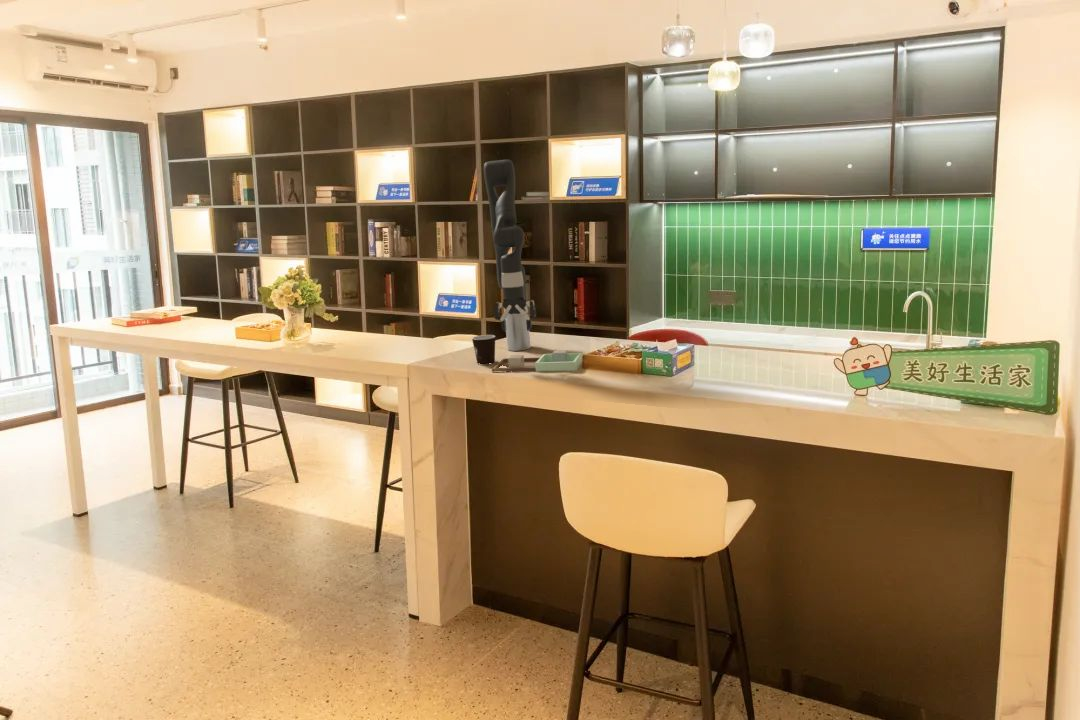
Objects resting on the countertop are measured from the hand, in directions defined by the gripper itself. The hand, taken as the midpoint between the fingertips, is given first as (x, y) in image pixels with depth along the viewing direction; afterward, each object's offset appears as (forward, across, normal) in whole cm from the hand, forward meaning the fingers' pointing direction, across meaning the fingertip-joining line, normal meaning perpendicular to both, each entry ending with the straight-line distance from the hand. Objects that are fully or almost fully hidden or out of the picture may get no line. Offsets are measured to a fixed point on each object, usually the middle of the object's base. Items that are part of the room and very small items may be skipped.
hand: (516, 330), depth 290 cm
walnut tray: (+14, +1, -4) cm, 15 cm away
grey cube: (+14, -14, -4) cm, 20 cm away
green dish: (+14, -14, -1) cm, 20 cm away
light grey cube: (+14, +1, 0) cm, 14 cm away
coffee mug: (+14, +16, -13) cm, 25 cm away
